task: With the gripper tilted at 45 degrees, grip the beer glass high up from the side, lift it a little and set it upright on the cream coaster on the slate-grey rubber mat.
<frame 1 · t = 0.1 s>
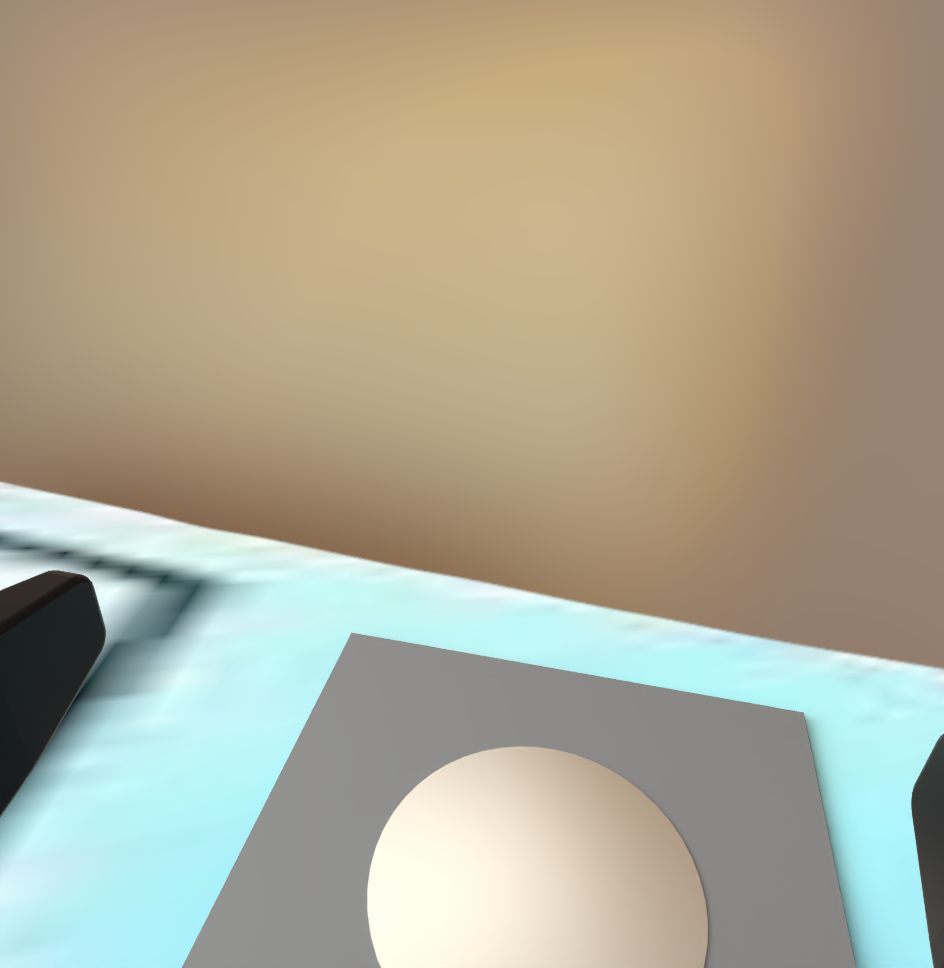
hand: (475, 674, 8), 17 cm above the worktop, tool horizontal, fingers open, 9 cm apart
slate mat: (524, 961, 21), on the worktop
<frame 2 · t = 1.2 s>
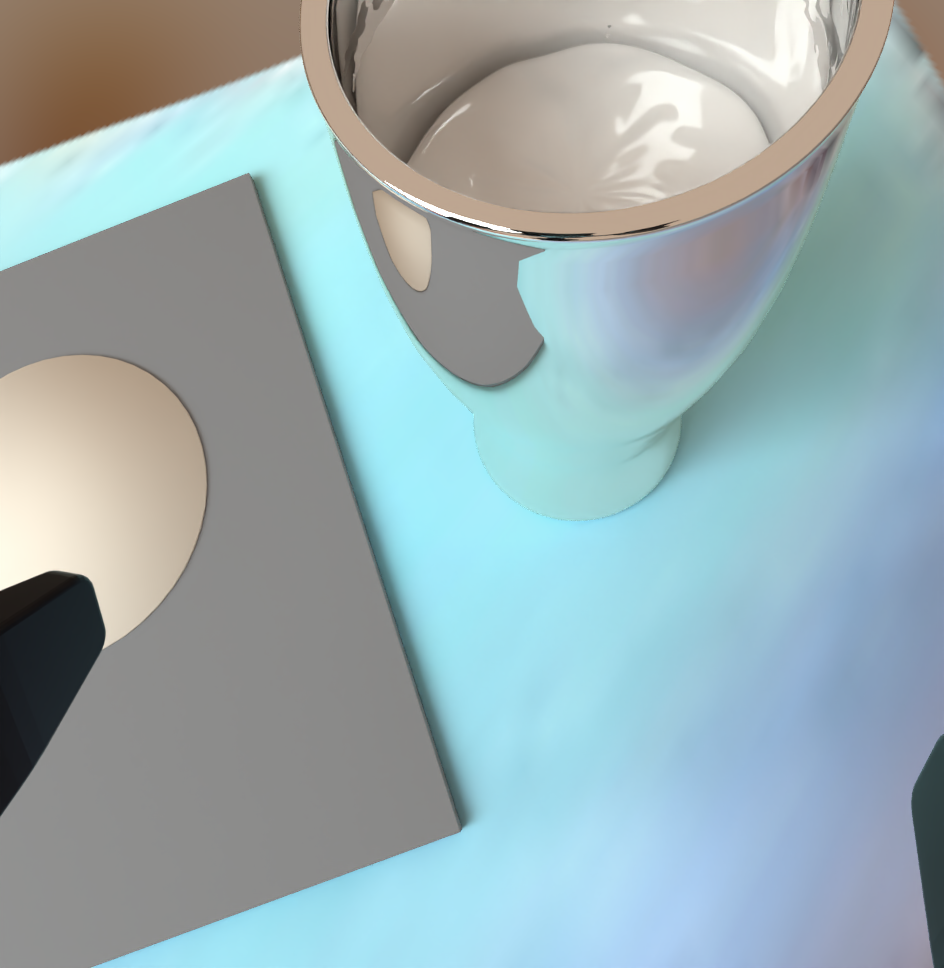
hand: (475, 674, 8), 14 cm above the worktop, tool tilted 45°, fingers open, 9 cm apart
slate mat: (74, 564, 24), on the worktop
beer glass: (575, 425, 23), on the worktop
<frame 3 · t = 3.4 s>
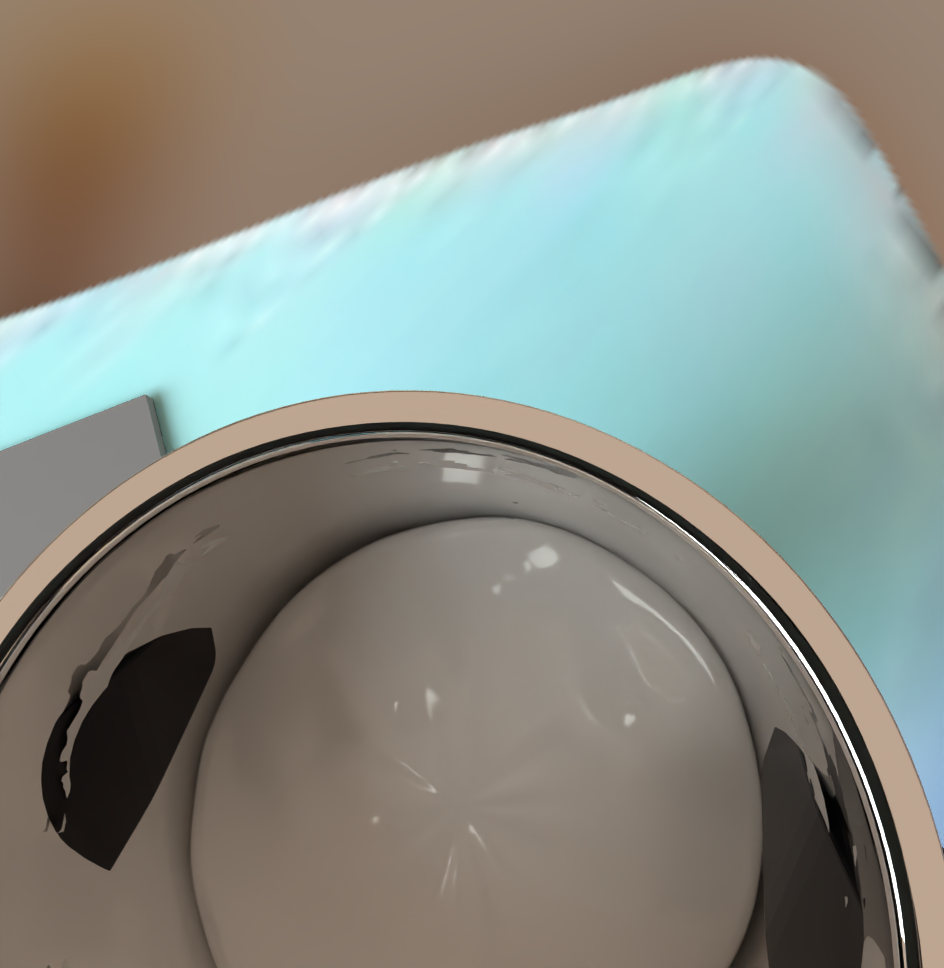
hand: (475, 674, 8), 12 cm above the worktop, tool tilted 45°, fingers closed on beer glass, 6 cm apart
beer glass: (523, 735, 19), on the worktop, touching gripper
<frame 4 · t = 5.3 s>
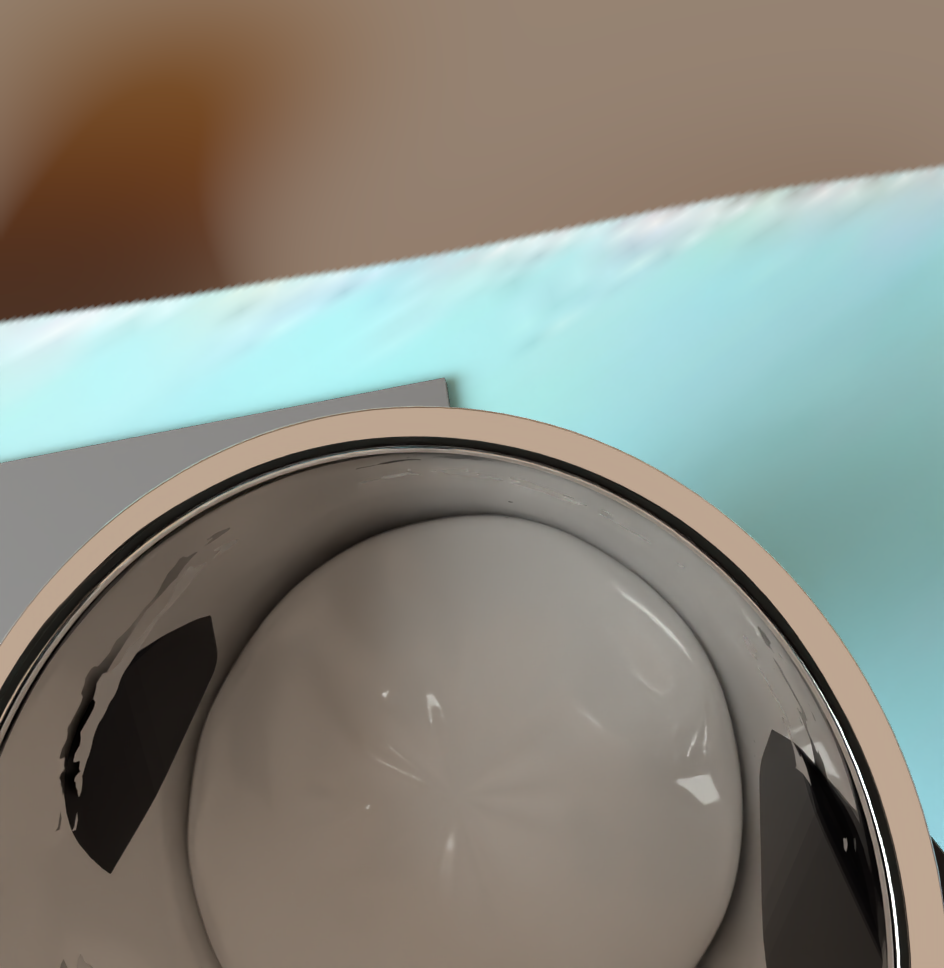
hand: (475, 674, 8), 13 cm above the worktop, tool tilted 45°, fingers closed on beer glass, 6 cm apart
slate mat: (184, 808, 21), on the worktop
beer glass: (496, 719, 19), point 1 cm above the worktop, touching gripper
when the fingers open (13 cm above the worktop, at t = 7.2 s): beer glass stays where it is, resting on slate mat.
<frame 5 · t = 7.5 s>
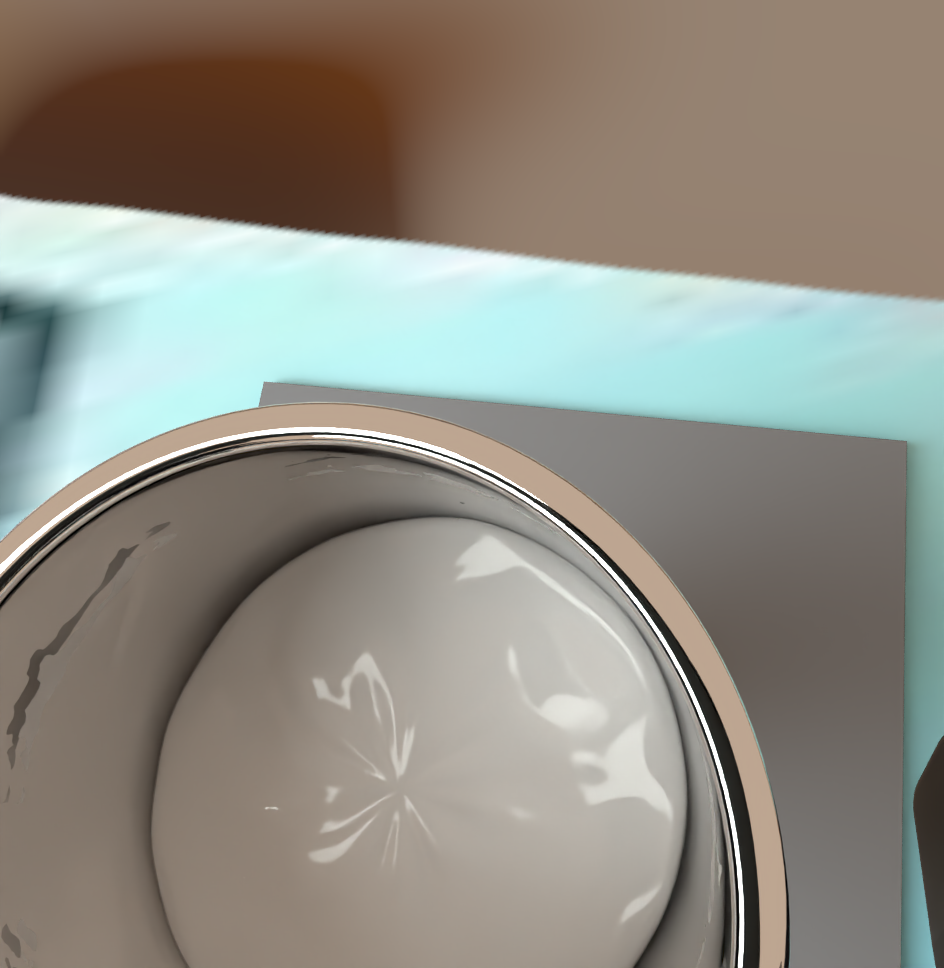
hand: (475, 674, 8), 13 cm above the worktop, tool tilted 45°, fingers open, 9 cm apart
slate mat: (514, 823, 19), on the worktop
beer glass: (496, 728, 20), resting on slate mat
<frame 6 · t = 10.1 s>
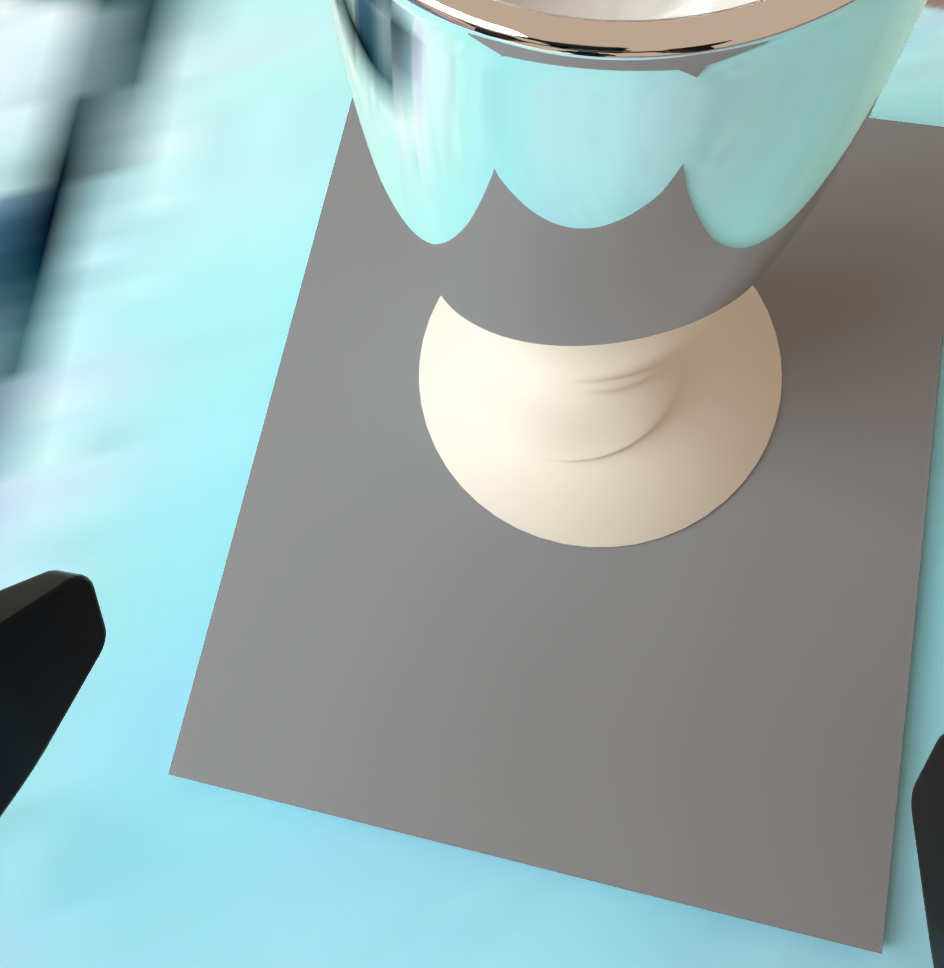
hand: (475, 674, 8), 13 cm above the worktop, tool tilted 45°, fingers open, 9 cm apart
slate mat: (582, 441, 21), on the worktop
beer glass: (571, 359, 22), resting on slate mat
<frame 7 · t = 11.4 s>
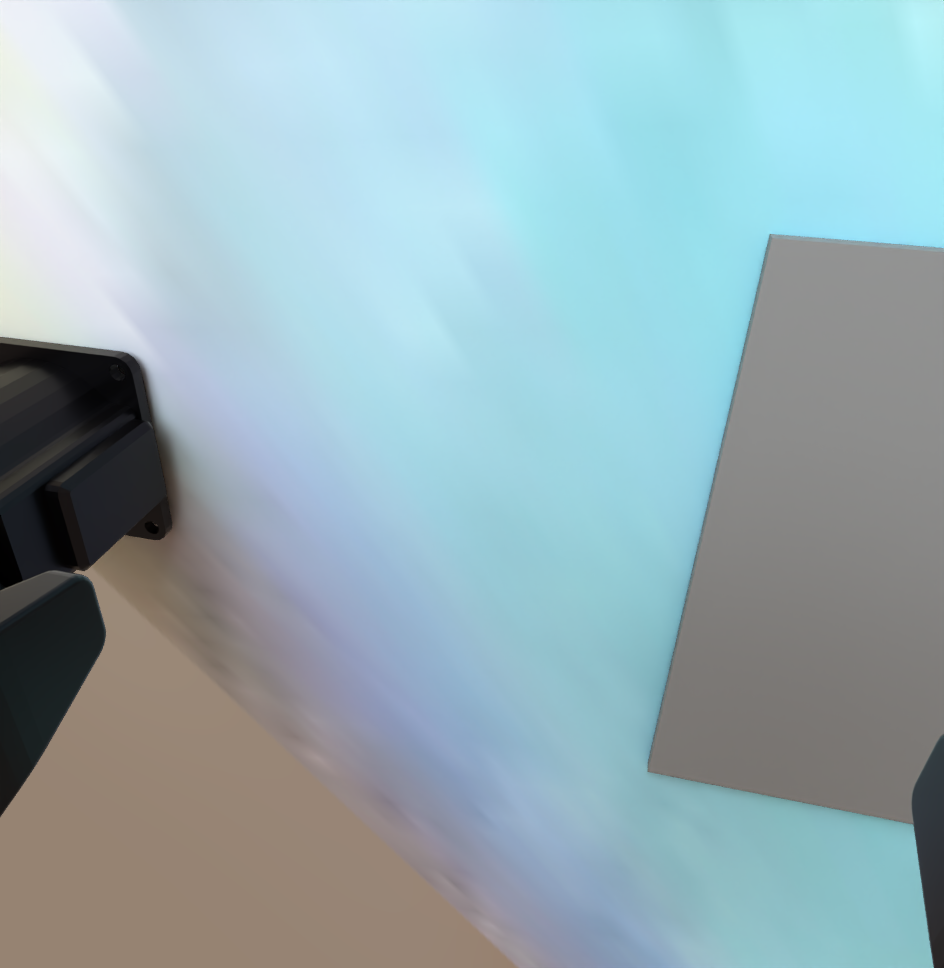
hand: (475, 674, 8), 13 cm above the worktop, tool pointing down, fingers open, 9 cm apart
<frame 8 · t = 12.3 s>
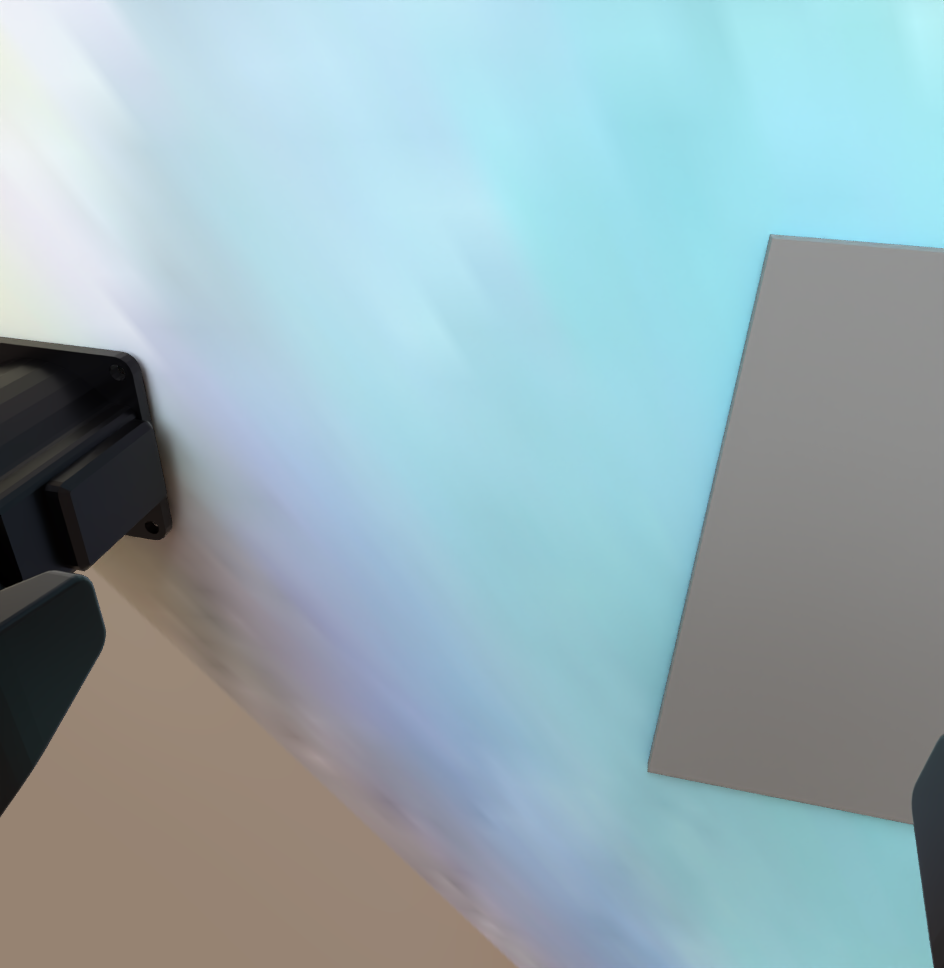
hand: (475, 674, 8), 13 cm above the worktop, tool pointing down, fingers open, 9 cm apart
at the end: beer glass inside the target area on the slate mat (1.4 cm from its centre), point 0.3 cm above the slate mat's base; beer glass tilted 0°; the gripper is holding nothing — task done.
